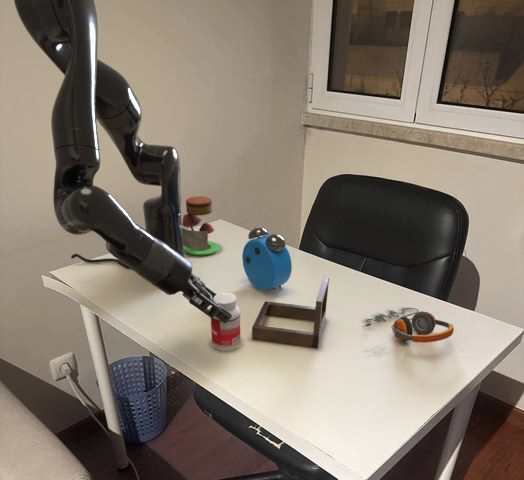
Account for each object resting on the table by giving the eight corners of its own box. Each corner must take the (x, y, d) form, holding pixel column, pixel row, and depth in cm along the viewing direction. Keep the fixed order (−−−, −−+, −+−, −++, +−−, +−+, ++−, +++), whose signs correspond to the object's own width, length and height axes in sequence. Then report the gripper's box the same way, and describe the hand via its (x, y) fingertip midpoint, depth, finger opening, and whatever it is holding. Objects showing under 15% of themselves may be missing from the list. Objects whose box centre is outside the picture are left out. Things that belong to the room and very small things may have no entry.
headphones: (408, 296, 122) (474, 314, 105) (407, 316, 124) (473, 338, 107) (351, 311, 115) (412, 333, 98) (352, 332, 117) (412, 358, 100)
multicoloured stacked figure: (191, 239, 159) (188, 191, 150) (227, 245, 155) (225, 197, 146) (171, 252, 149) (166, 202, 141) (208, 259, 145) (206, 208, 137)
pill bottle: (211, 336, 110) (209, 291, 104) (239, 335, 111) (239, 290, 104) (212, 352, 105) (209, 305, 99) (241, 351, 105) (240, 304, 99)
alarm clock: (291, 292, 129) (294, 236, 120) (273, 299, 125) (274, 241, 117) (259, 275, 137) (259, 221, 129) (241, 281, 134) (240, 226, 125)
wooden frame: (252, 339, 109) (252, 293, 103) (264, 313, 119) (265, 269, 113) (317, 348, 107) (322, 301, 100) (325, 320, 117) (329, 276, 111)
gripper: (140, 266, 99) (200, 307, 109) (156, 297, 88) (220, 340, 98) (164, 236, 98) (222, 281, 108) (183, 264, 87) (246, 311, 97)
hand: (221, 309), depth 103 cm, fingers open, 8 cm apart
